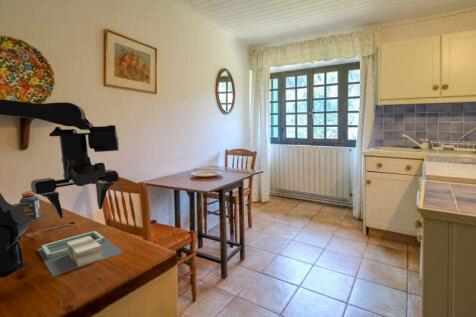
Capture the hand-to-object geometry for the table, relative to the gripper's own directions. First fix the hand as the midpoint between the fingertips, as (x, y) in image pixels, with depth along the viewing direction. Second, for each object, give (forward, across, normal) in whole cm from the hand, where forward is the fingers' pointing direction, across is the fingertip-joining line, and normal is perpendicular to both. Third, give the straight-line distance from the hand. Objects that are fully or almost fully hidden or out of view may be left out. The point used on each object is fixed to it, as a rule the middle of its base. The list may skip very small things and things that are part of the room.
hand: (81, 213), depth 70 cm
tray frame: (+12, 0, +10) cm, 15 cm away
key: (+13, 0, +34) cm, 36 cm away
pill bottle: (+12, -2, +55) cm, 56 cm away
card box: (+12, 0, 0) cm, 12 cm away
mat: (+12, 0, +5) cm, 13 cm away
